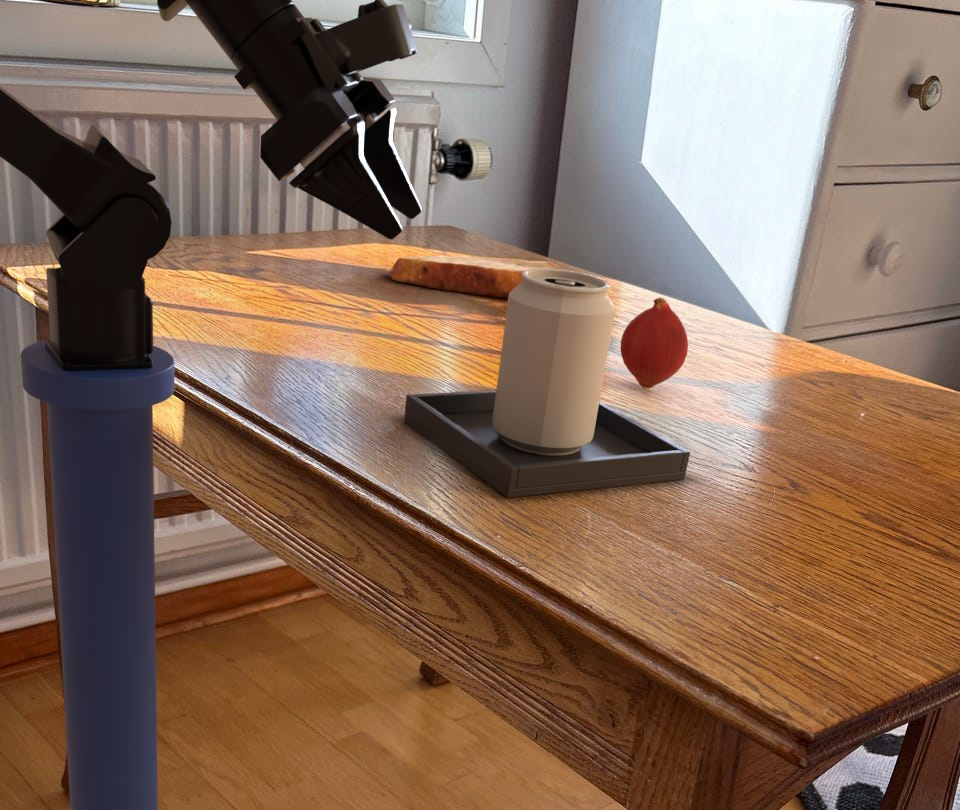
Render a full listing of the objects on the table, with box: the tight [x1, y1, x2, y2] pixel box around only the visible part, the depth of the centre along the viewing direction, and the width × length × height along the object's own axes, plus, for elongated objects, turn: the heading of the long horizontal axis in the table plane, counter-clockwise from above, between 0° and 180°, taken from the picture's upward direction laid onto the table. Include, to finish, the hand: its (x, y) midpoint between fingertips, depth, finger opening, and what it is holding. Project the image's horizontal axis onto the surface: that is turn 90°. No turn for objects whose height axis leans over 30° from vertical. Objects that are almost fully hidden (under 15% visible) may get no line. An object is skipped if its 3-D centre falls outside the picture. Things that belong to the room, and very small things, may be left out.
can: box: [492, 268, 617, 456], centre depth 83 cm, size 8×8×12 cm
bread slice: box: [388, 255, 561, 299], centre depth 131 cm, size 18×18×4 cm
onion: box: [620, 296, 689, 390], centre depth 103 cm, size 6×6×8 cm
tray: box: [403, 389, 691, 499], centre depth 86 cm, size 15×15×2 cm
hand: (407, 224), depth 85 cm, fingers open, 9 cm apart
